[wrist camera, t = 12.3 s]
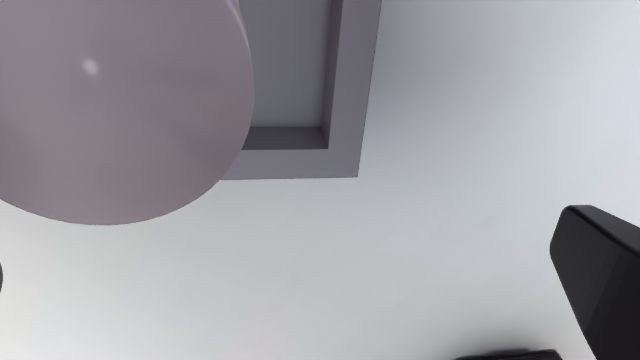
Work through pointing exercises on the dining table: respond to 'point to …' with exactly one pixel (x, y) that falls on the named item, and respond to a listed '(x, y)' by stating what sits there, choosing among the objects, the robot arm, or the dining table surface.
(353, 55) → the tray
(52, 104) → the shaker
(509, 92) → the dining table surface
